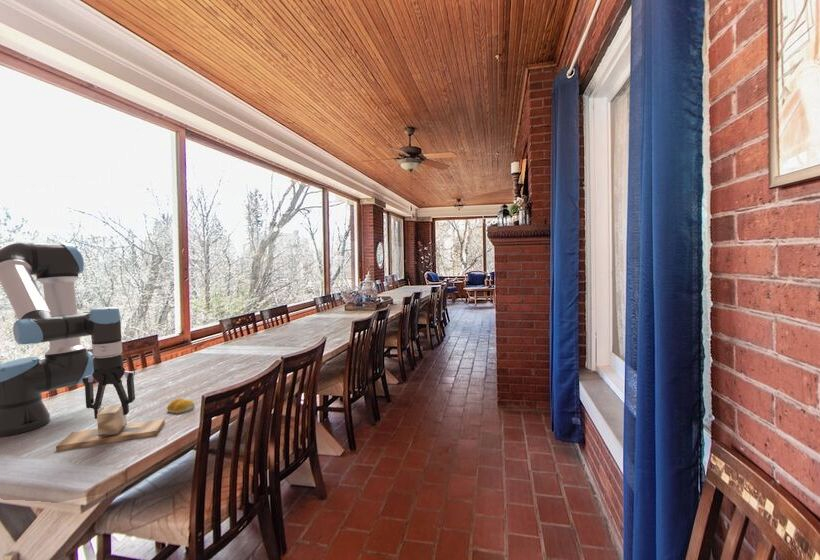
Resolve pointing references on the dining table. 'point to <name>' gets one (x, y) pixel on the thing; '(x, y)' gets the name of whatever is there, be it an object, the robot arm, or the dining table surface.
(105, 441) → the oak plank
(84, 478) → the dining table surface
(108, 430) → the block
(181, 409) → the bread roll
